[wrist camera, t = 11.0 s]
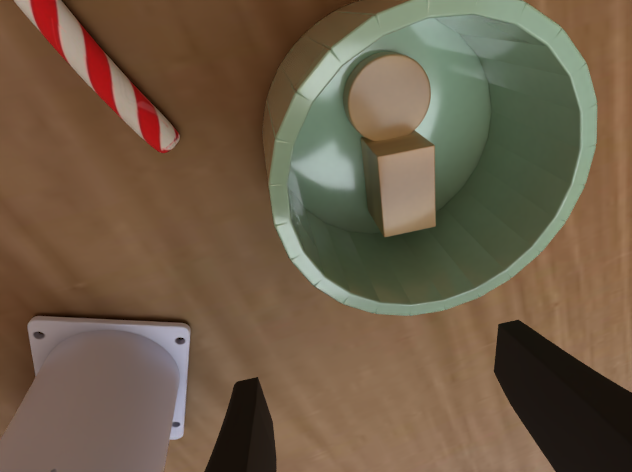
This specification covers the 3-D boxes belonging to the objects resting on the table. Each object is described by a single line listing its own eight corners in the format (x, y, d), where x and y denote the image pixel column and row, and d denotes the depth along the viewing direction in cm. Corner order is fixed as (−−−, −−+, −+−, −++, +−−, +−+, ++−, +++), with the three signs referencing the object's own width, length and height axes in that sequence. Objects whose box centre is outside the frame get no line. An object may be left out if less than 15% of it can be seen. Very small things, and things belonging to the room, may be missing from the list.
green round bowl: (449, 245, 23) (514, 322, 18) (248, 225, 21) (250, 307, 15) (534, 26, 18) (664, 36, 13) (282, -35, 16) (303, -56, 10)
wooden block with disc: (425, 198, 21) (449, 224, 18) (356, 213, 21) (370, 240, 18) (421, 43, 17) (450, 50, 15) (337, 59, 17) (352, 69, 15)
